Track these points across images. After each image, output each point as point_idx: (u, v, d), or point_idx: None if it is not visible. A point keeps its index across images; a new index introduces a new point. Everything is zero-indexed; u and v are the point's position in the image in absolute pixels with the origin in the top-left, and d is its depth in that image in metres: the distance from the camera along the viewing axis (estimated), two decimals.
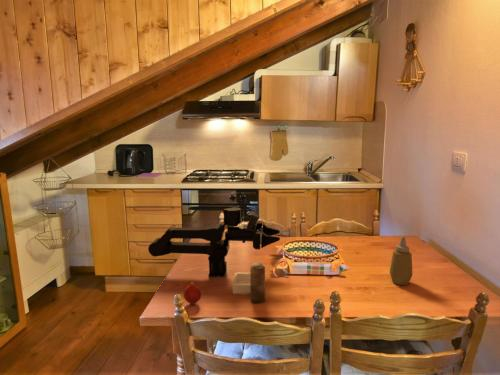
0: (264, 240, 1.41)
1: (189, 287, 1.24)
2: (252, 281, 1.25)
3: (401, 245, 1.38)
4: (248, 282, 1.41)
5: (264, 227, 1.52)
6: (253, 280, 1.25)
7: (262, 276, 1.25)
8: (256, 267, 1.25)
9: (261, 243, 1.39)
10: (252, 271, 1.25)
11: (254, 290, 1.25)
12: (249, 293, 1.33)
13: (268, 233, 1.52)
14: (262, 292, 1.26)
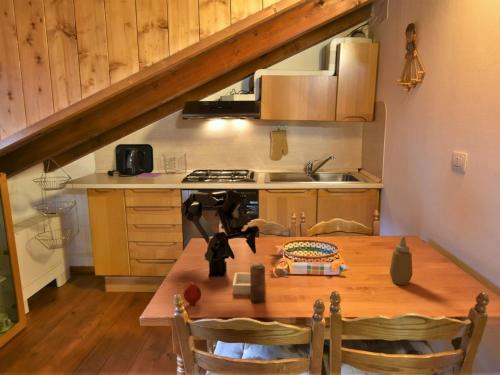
0: (224, 245, 1.32)
1: (189, 287, 1.24)
2: (252, 281, 1.25)
3: (401, 245, 1.38)
4: (248, 282, 1.41)
5: (250, 236, 1.37)
6: (253, 280, 1.25)
7: (262, 276, 1.25)
8: (256, 267, 1.25)
9: (217, 245, 1.32)
10: (252, 271, 1.25)
11: (254, 290, 1.25)
12: (249, 293, 1.33)
13: (249, 243, 1.38)
14: (262, 292, 1.26)
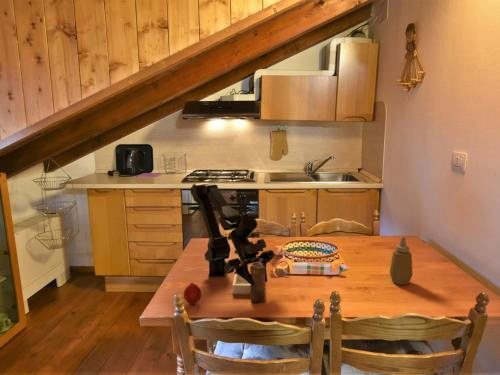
0: (243, 271, 1.27)
1: (189, 287, 1.24)
2: None
3: (401, 245, 1.38)
4: None
5: None
6: (253, 279, 1.25)
7: (262, 276, 1.25)
8: (256, 267, 1.25)
9: (236, 270, 1.27)
10: (252, 271, 1.25)
11: (254, 290, 1.25)
12: (249, 293, 1.33)
13: None
14: (262, 292, 1.26)
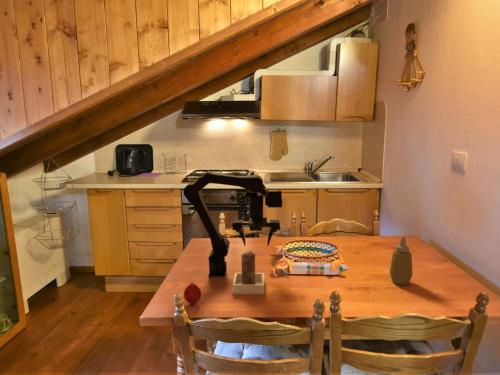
0: None
1: (189, 287, 1.24)
2: (243, 268, 1.35)
3: (401, 245, 1.38)
4: None
5: (269, 231, 1.46)
6: (244, 266, 1.35)
7: (252, 263, 1.35)
8: (247, 255, 1.34)
9: None
10: (243, 258, 1.35)
11: (245, 276, 1.35)
12: (249, 293, 1.33)
13: (268, 233, 1.48)
14: (252, 278, 1.36)
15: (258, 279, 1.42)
